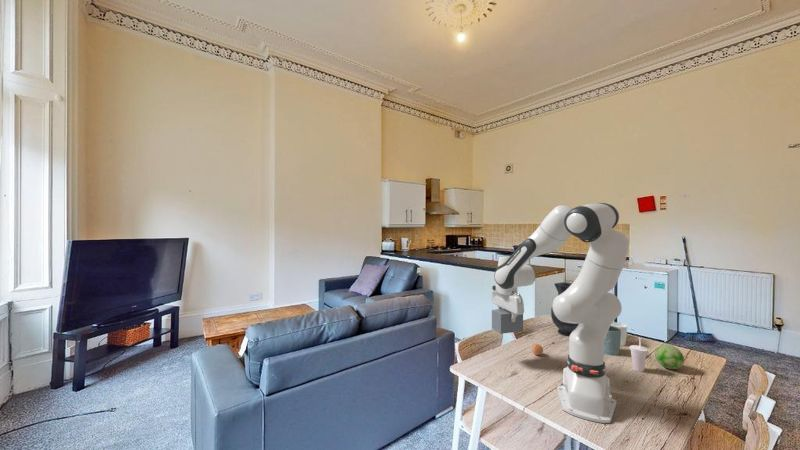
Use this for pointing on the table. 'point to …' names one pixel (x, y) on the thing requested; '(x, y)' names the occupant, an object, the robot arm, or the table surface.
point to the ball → (537, 349)
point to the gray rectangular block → (506, 321)
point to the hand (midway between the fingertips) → (507, 318)
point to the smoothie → (638, 356)
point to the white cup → (623, 332)
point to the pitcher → (563, 326)
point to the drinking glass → (612, 341)
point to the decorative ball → (669, 356)
